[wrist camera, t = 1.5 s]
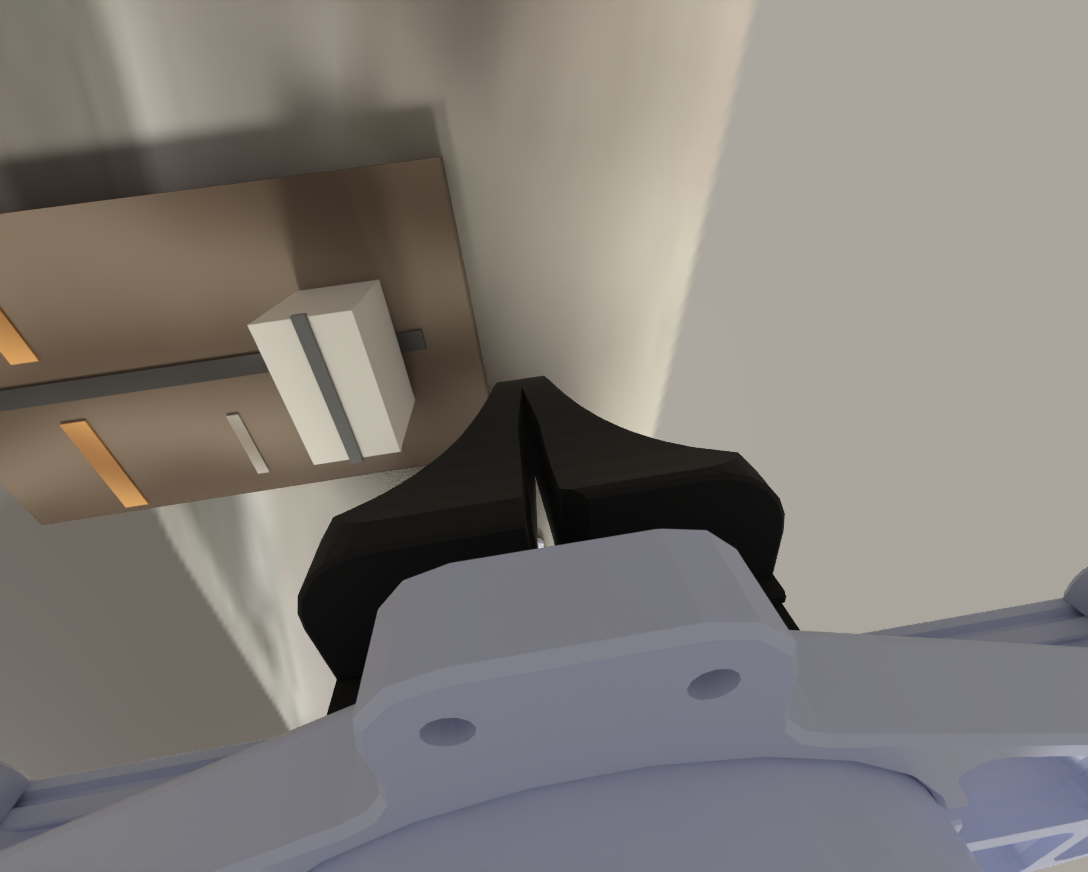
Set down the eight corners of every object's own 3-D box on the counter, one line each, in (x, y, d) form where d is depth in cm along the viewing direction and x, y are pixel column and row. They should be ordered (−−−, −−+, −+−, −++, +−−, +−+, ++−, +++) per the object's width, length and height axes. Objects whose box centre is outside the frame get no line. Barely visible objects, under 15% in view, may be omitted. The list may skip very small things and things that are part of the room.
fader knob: (415, 402, 19) (400, 456, 16) (345, 412, 19) (313, 469, 15) (378, 276, 16) (349, 308, 13) (295, 288, 16) (243, 323, 13)
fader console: (497, 437, 22) (498, 454, 21) (67, 503, 22) (39, 526, 20) (442, 157, 16) (438, 157, 15) (-171, 236, 15) (-235, 244, 14)
